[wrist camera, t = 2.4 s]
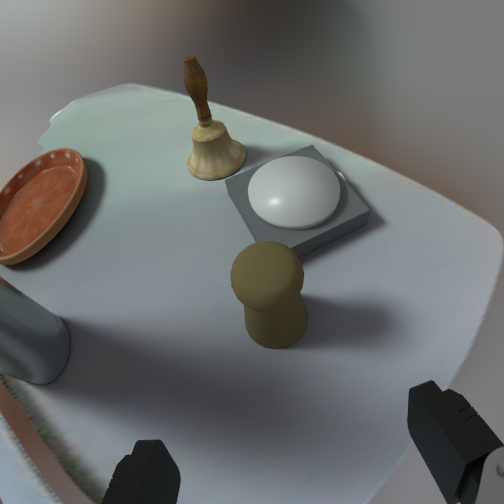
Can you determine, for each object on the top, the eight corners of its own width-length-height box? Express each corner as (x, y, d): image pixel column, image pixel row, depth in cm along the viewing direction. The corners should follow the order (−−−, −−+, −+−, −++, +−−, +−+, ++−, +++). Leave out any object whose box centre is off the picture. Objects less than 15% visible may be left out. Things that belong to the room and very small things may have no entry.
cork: (320, 324, 30) (329, 271, 21) (268, 361, 29) (252, 325, 20) (282, 279, 33) (274, 213, 24) (233, 313, 32) (204, 258, 23)
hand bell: (199, 139, 47) (170, 47, 33) (252, 141, 45) (234, 41, 31) (179, 178, 43) (137, 80, 29) (237, 183, 41) (209, 73, 27)
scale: (271, 269, 34) (268, 252, 31) (228, 193, 40) (222, 174, 37) (369, 222, 35) (374, 202, 32) (314, 157, 41) (314, 137, 38)
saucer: (-4, 205, 49) (-14, 194, 46) (84, 142, 53) (76, 128, 50) (-6, 296, 38) (-21, 285, 35) (105, 220, 41) (92, 203, 38)
